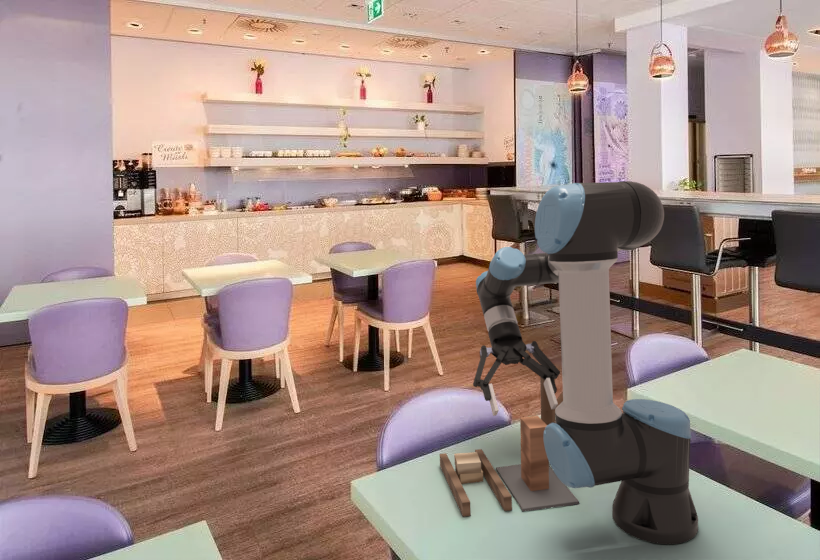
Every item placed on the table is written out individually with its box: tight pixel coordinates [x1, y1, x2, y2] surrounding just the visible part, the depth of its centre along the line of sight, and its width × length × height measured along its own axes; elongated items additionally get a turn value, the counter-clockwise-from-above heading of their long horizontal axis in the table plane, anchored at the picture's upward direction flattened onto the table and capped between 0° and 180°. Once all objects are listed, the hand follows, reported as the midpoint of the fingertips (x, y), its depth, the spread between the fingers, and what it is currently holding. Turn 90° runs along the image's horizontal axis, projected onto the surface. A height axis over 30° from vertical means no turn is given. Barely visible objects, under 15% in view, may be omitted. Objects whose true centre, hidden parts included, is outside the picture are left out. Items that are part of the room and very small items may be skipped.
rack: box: [439, 448, 513, 517], centre depth 128 cm, size 22×10×3 cm, turn 9°
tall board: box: [519, 415, 550, 491], centre depth 126 cm, size 6×4×14 cm, turn 9°
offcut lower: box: [454, 466, 484, 485], centre depth 133 cm, size 5×5×2 cm
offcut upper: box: [453, 451, 481, 474], centre depth 132 cm, size 5×5×2 cm
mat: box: [495, 463, 580, 512], centre depth 128 cm, size 18×12×1 cm, turn 9°
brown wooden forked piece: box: [539, 376, 563, 425], centre depth 150 cm, size 4×11×18 cm, turn 113°
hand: (525, 410), depth 130 cm, fingers open, 13 cm apart
